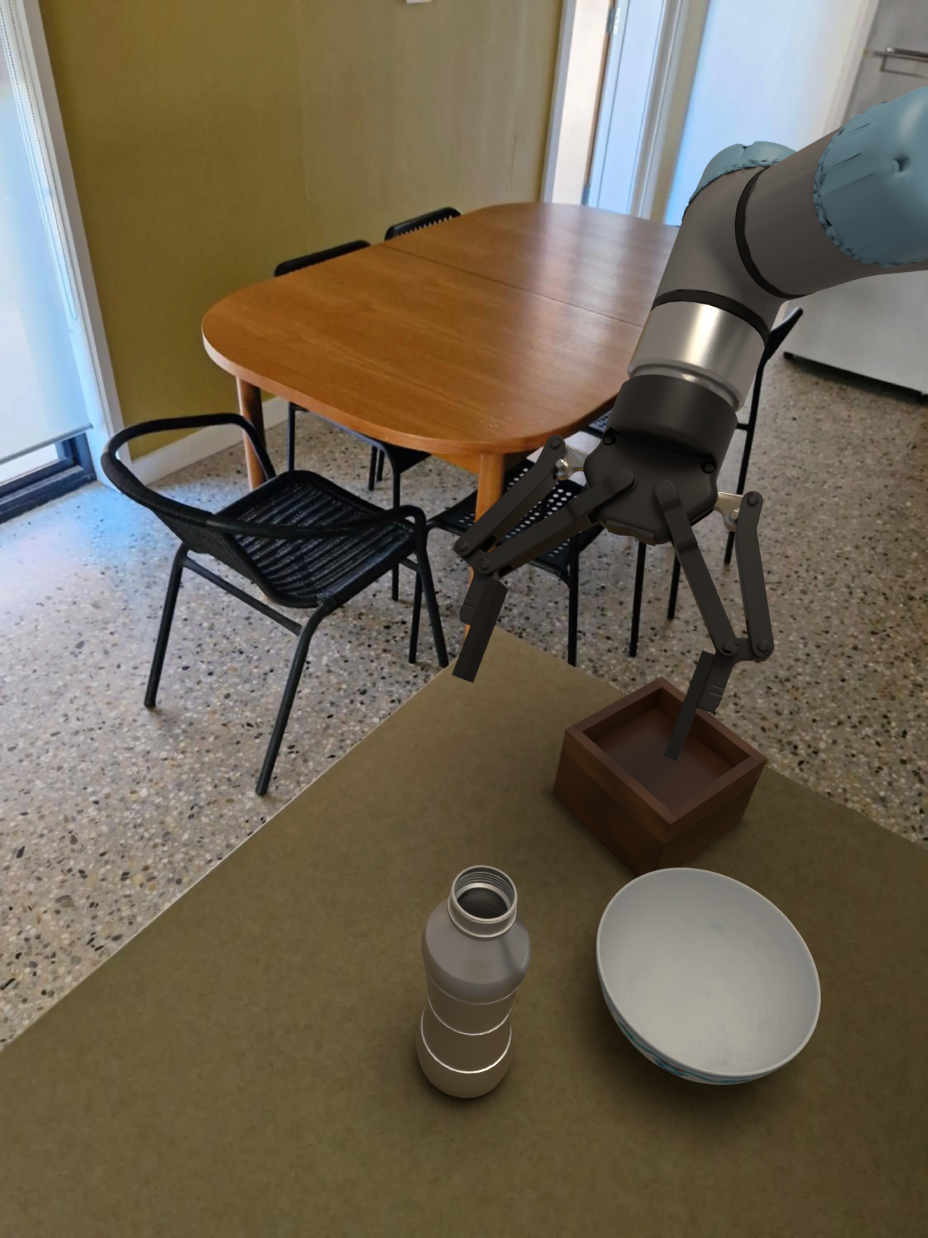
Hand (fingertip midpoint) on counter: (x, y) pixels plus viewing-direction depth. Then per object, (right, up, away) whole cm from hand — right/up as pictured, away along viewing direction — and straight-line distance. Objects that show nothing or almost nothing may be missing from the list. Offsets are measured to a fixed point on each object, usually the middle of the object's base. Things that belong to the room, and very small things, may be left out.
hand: (562, 718), depth 54 cm
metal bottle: (-6, -25, +8) cm, 27 cm away
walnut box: (+10, -11, +26) cm, 30 cm away
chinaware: (+10, -23, +11) cm, 28 cm away
